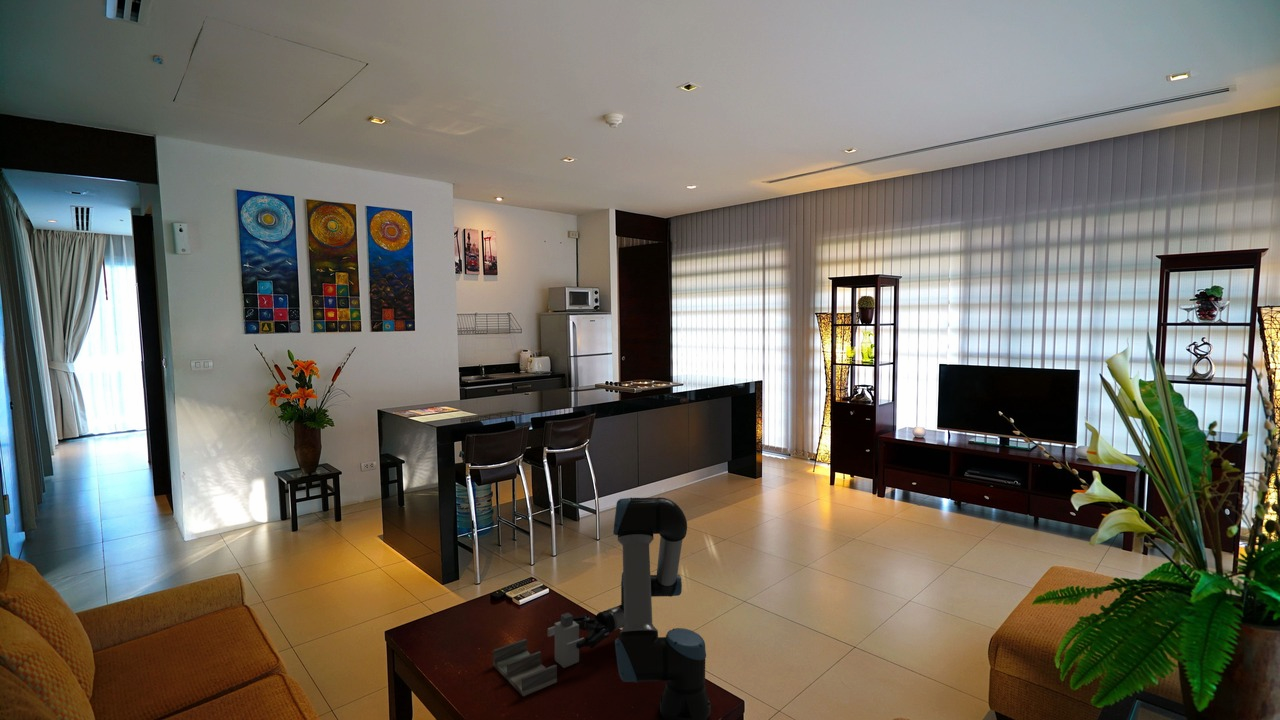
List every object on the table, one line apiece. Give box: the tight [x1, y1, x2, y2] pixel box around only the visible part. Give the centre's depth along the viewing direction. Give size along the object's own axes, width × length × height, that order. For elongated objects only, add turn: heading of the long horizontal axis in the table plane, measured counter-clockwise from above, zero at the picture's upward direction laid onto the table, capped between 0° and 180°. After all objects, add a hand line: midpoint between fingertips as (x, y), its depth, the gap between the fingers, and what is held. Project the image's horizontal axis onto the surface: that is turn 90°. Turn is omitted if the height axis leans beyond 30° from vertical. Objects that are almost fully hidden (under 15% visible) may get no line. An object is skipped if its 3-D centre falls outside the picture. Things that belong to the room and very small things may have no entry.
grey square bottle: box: [554, 612, 580, 669], centre depth 206 cm, size 6×6×16 cm
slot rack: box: [492, 638, 558, 697], centre depth 199 cm, size 21×12×6 cm, turn 39°
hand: (557, 640), depth 204 cm, fingers open, 12 cm apart
